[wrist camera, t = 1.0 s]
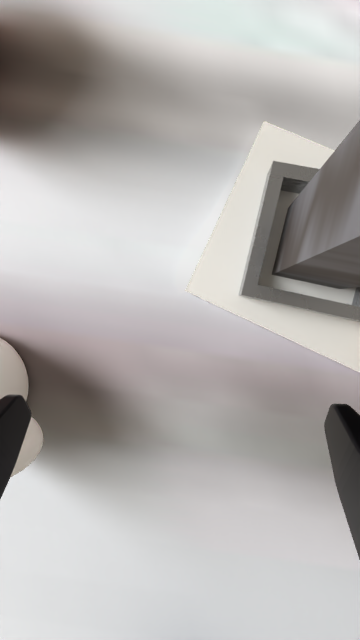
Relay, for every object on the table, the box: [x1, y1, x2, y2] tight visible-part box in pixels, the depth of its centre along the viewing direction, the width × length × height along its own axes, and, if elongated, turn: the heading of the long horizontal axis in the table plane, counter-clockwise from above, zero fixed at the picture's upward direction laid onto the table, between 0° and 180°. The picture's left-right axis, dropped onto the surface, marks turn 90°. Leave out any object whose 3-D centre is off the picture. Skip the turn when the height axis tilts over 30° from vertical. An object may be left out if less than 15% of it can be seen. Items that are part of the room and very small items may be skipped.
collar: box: [238, 161, 360, 322], centre depth 19 cm, size 8×8×2 cm
